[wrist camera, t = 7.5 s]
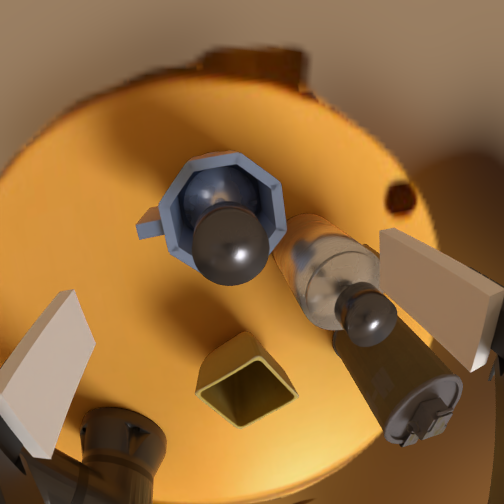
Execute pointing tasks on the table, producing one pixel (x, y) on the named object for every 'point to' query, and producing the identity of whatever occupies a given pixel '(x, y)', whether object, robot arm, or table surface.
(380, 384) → the canister
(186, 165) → the blue mug
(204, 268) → the plunger
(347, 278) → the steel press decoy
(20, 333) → the table surface
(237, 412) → the flower pot
